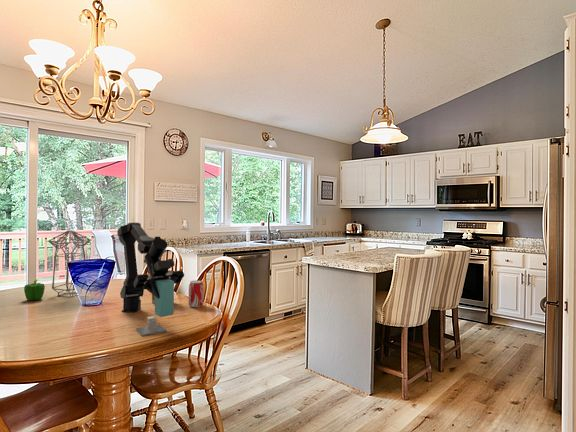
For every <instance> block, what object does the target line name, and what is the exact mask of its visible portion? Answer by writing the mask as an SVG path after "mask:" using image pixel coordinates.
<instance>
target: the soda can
mask: <svg viewBox="0 0 576 432" xmlns="http://www.w3.org/2000/svg"><path fill="white" fill-rule="evenodd" d="M203 283H204V282H203V280H191V281H190V282H189V285H188V306H189V307H191V308H200V307H202V306H203V305H204V287H205V286H204V284H203Z"/></svg>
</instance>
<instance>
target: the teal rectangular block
mask: <svg viewBox="0 0 576 432" xmlns="http://www.w3.org/2000/svg"><path fill="white" fill-rule="evenodd" d="M155 285H156V287H157V290H158V293H159V296H160V298H159V299H158V298H157V297H155V303H154V316H155V315H156V316H157V317H159V318H163V317H169V316H173V315H174V312H175V311H174V308H175V307H174V305H175V304H174V303H175V284H174V281H172V280H169V279H167V280H158V281H155Z"/></svg>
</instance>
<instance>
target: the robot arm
mask: <svg viewBox="0 0 576 432" xmlns="http://www.w3.org/2000/svg"><path fill="white" fill-rule="evenodd" d="M116 231H117V234H116V235H117V236H118V240H119V243H120V244H121V245H122V246H123V251H124V252H123V254H124V264H125V272H126V273H125V274H126V275H125V279H124V281H123V284H122V287H121V289H120V293H119V295H120V298H121V299H123V304H122V305H123V307H122V308H123V309H121V313H123V312H124V313H136V312H138V311H140V310H141V309H142V307H141V305H142V300H141V297H142V298H143V296H144V291H145V290H146V291H148V292H149V293H151V295H152V294H153V295H154V296H155V297H157V298H158V299H159V298H160V296H159V293H158V290H157V287H156V285H155V281H158V280H167V279H169V280H172V281H174V285H175V284H180V283H181V282H182V280H183V278H184V276H185V273H184V271H183V270H180V269H179V270H172V271H173V272H172V274H171V275H166V273H168V270H170V269H172V268H173V267H175V261H174V259H173V258H169V259H165V260H164V259H163V260H161V257H162V256H164V254H165V252H166V249H167V247H168V242H167V241H166V240H165V239H164V238H161V236H154V237H151V236H149V235H148V234H147V232H146V231H145V230H144V228H143V227H142V224H141V223H140V222H128V223H127V224H125V225H121V226H120V227H118V229H117V230H116ZM136 242H137V250H138V253H140V254H142V255H144V259H143V264H146V267H147V273H143V274H139V273H138V264H137V263H138V262H137V256H136V248H135V247H136V246H135V245H136V244H135V243H136Z"/></svg>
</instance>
